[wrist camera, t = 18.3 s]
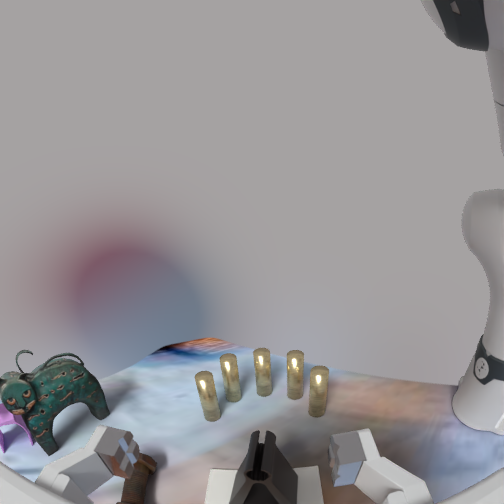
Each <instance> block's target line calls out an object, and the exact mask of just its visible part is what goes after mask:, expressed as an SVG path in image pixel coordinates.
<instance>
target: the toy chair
mask: <svg viewBox="0 0 504 504" xmlns="http://www.w3.org/2000/svg"><path fill="white" fill-rule="evenodd" d="M8 424H18V425H19V426H21V427H22V428H23V429H24V430H25V431H26V432H27V434H28V437H29V439H30V442H31V444H32V445H33V441H32V436H31V432H30V431H29V430H28V428H27V427H26V425H25V423H24V421H23V418H22V416H21V415H13V414H12V413H10V412H9V411H8V410H7V409H6V408H5V406H4V404H3V403H2V404H0V426H3V425H8ZM0 446H1V449H2V451H3V453H5V451H4V442H3V433H2V432H1V430H0Z"/></svg>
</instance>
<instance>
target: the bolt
mask: <svg viewBox="0 0 504 504" xmlns="http://www.w3.org/2000/svg"><path fill="white" fill-rule="evenodd" d="M133 466H134V470H133V473H132V475H131V478H130V479H127V478H125V482H124V487H123V493H122V498H121V502H118V503H116V504H144V497H145V489H146V483H147V479H148V474H149V475H153V473H154V471H155V470H156V466H157V463H156V462H155V460H154V459H152V458H151V457H150V456H148V455H145V454H142V453H139V458H138V461H137V462H135V463H134V464H133Z"/></svg>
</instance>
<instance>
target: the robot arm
mask: <svg viewBox="0 0 504 504" xmlns="http://www.w3.org/2000/svg"><path fill="white" fill-rule="evenodd" d="M421 2H422V4H423V6H424V8H425V10H426V11H427V13H428V14H429V16H430V17H431V18H432V20H433V21H434V22H435V23H436V25H437V26H438V27H439V28H440V29H441V30H442V31H443V32H444V34H445V36H446V37H447V38H448V39H449V40H451V41H452V42H453V43H455V44H456V45H457V46H460V47H463V48H467V49H473V50H479V51H485V53H486V59H487V65H488V71H489V76H490V81H491V87H492V92H493V97H494V102H495V108H496V113H497V119H498V126H499V133H500V142H501V149H502V153H503V155H504V0H421ZM462 232H463V236H464V239H465V242H466V244H467V246H468V248H469V249H470V251H471V252H472V253H473V254H474V255H475V256H476V257H477V259H478V260H479V261H480V263H481V265H482V266H483V268H484V270H485V273H486V276H487V278H488V282H489V287H490V306H489V313H488V318H487V324H486V327H485V331H484V334H483V335H482V336H481V338H480V341H479V343H478V345H477V350H476V353H475V355H474V356H473V358H472V360H471V363H470V365H469V367H468V369H467V371H466V373H465V376H463V377H461V379H460V381H459V385H458V390H457V392H456V393H455V395H454V397H453V401H452V406H453V410H454V413H455V415H456V416H457V418H458V419H459V420H460V421H461V422H462V423H464V424H465V425H467V426H468V427H470V428H473V429H476V430H481V431H492V432H494V433H496V434H499V435H504V190H502V189H494V190H485V191H479V192H474V193H473V194H472V195H471V196H470V198H469V199H468V201H467V202H466V204H465V207H464V210H463V214H462ZM132 438H133V435H132V433H131V432H130V431H125V430H120V429H116V428H112V427H108V426H104V425H99V426H97V428H96V429H95V431H94V432H93V434H92V436H91V437H90V439H89V441H88V442H87V444H86V446H85V447H84V448H80V449H78V450H76V451H74V452H72V453H70V454H68V455H66V456H64V457H62V458H60V459H58V460H56V461H54V462H52V463H50V464H47V465H45V467H44V469H43V470H42V472H41V473H40V475H39V476H38V478H37V480H36V481H35V483H34V482H32V481H30V480H29V479H27V478H25V477H24V476H22V475H20V474H19V473H17V472H15V471H14V470H12V469H11V468H9V467H8V466H6V465H5V464H3V463H2V462H0V504H94V503H93V501H92V500H91V499H90V498H88V497H87V495H89V494H90V493H92V492H93V491H94V490H96V489H97V488H98V487H100V486H101V485H102V484H104V483H105V482H106V481H108V480H109V479H110V478H112V477H113V475H115V476H119V477H123V478H127V479H130V478H131V475H132V473H133V470H134V466H133V464H134V463H135V462H137V461H138V458H139V451H140V450H139V446H138V444H137V443H136V442H135V441H134V440H133V439H132ZM330 442H331V445H330V446H329V449H328V460H329V466H330V467H331V468H333V469H332V473H331V476H332V481H333V486H334V487H336V486H342V485H348V484H354V483H355V484H354V485H356V486H357V487H358V488H359V489H360V490H361V491H362V492H363V493H365V494H366V495H367V496H368V497H369V498H370V499H371V500H373V501H374V502H375V503H376V504H434V503H433V500H432V498H431V495H430V493H429V490H428V488H427V486H426V483H425V481H423V480H422V479H420V478H418V477H416V476H415V475H413V474H411V473H410V472H408V471H406V470H405V469H403V468H401V467H400V466H398V465H396V464H395V463H393V462H392V461H390V460H388V459H387V458H385V457H380V455H379V452H378V449H377V447H376V444H375V441H374V439H373V436H372V433H371V431H370V429H369V428H367V429H362V430H357V431H350V432H345V433H339V434H333V435H331V438H330ZM436 504H504V468H501V469H499V470H498V471H496V472H495V473H493V474H491V475H490V476H488V477H486V478H485V479H483V480H481V481H480V482H478V483H476V484H474V485H473V486H471V487H469V488H467V489H465V490H463V491H461V492H459V493H457V494H455V495H453V496H451V497H449V498H447V499H445V500H443V501H441V502H438V503H436Z"/></svg>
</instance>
